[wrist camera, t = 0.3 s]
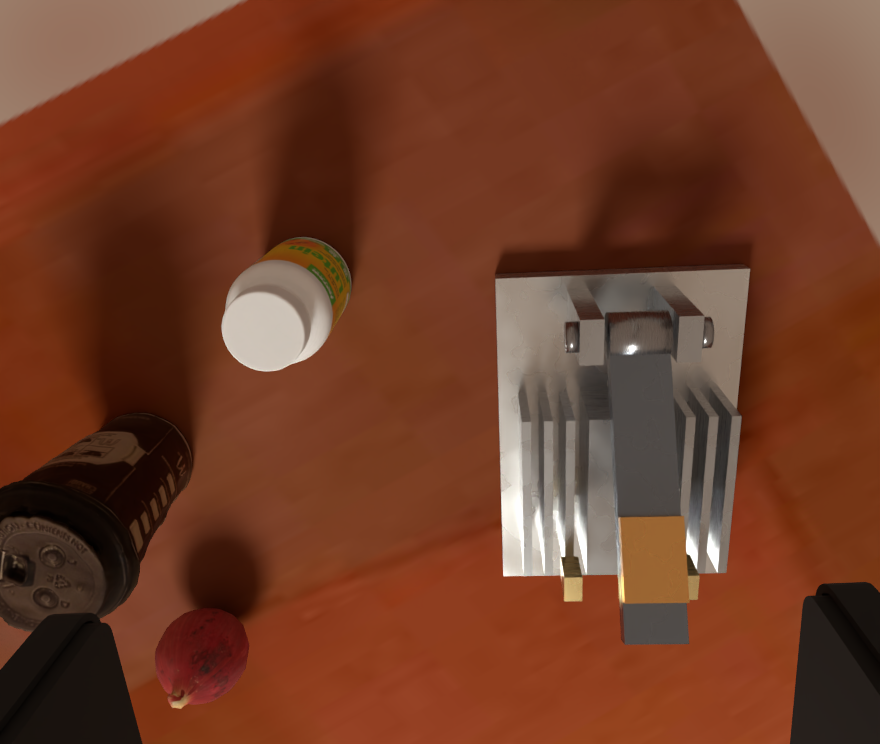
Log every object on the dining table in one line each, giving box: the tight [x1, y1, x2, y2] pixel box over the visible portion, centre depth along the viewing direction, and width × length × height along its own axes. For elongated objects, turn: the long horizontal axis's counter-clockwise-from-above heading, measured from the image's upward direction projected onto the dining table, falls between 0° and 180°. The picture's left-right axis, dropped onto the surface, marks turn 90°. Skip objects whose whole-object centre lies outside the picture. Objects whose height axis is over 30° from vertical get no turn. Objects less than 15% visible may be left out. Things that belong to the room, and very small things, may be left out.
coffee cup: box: [0, 413, 192, 632], centre depth 43 cm, size 9×8×13 cm
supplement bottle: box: [222, 237, 351, 371], centre depth 40 cm, size 5×5×10 cm
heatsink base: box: [495, 264, 750, 601], centre depth 43 cm, size 20×14×7 cm
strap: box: [604, 310, 690, 645], centre depth 37 cm, size 16×3×2 cm, turn 4°
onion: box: [155, 608, 249, 709], centre depth 49 cm, size 6×6×8 cm
